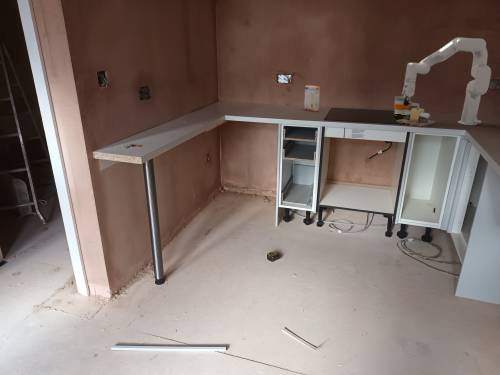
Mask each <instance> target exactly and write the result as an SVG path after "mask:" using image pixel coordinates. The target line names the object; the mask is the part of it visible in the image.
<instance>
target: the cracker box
mask: <svg viewBox="0 0 500 375" xmlns="http://www.w3.org/2000/svg"><path fill="white" fill-rule="evenodd" d="M320 96H321V86H317V85H311V84H310V85H305V86H304V104H303V105H304V106H303V108H304V109H303V110H306V109H307V110H306V111H310V112H319V111H320V110H319V109H320Z"/></svg>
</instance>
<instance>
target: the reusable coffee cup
mask: <svg viewBox="0 0 500 375" xmlns="http://www.w3.org/2000/svg"><path fill="white" fill-rule="evenodd" d="M409 102H412V96H411V97H410V100H409ZM403 103H404V98H403V96H402V95H395V96H394V104H393V105H394V106H393V109H394V115H395V114H401V115H405V111H406V110H409V108H410V106H404V105H403Z"/></svg>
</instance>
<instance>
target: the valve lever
mask: <svg viewBox="0 0 500 375" xmlns="http://www.w3.org/2000/svg"><path fill="white" fill-rule="evenodd" d="M408 106H409V107H411V106H413V107H415V108H416V109H419V108H420V103H416V102H412V101H410V102H409V104H408ZM420 109H421V108H420Z"/></svg>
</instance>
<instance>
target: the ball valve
mask: <svg viewBox="0 0 500 375" xmlns="http://www.w3.org/2000/svg"><path fill="white" fill-rule="evenodd" d="M416 108H417V107H414V108H410V109H411V110H409V109H408V110H406V111H405V115H408V116H410V121H414V122H420V121H421V118H425V119H428V120H429V119H430V116H431V114H430V113H428V112H425V109H424V108H419V109H416Z"/></svg>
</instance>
